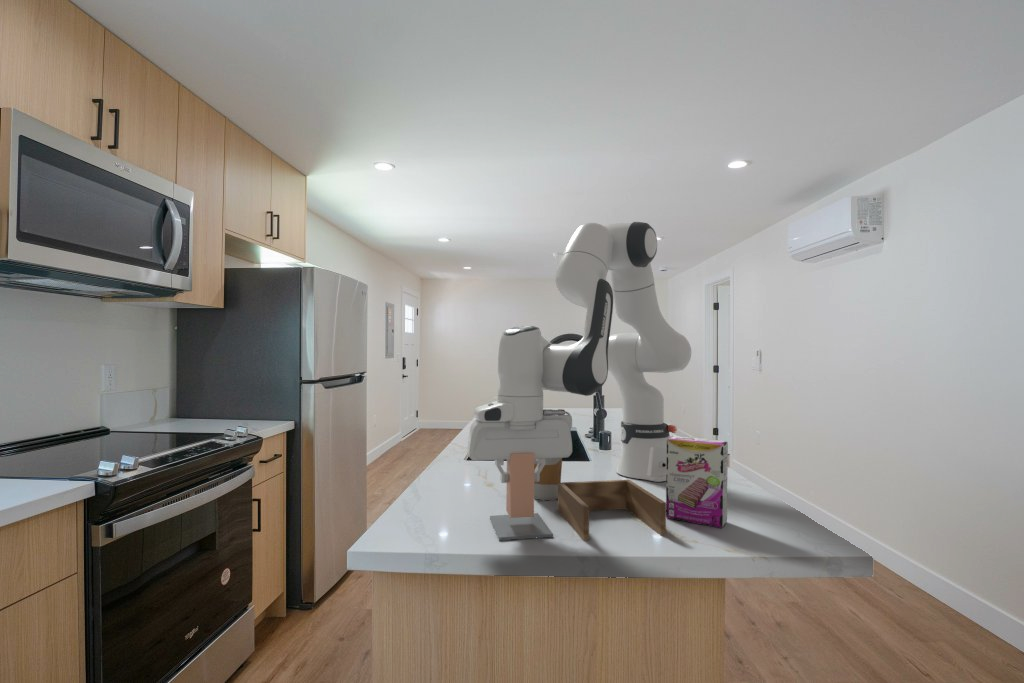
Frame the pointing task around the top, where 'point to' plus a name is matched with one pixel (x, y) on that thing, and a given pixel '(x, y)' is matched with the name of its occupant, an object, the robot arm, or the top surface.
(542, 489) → the coffee cup
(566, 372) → the robot arm
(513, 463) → the terracotta block
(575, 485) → the walnut bay
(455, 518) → the top surface
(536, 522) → the slate coaster
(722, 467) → the candy bar box
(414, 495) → the top surface
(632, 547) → the top surface
